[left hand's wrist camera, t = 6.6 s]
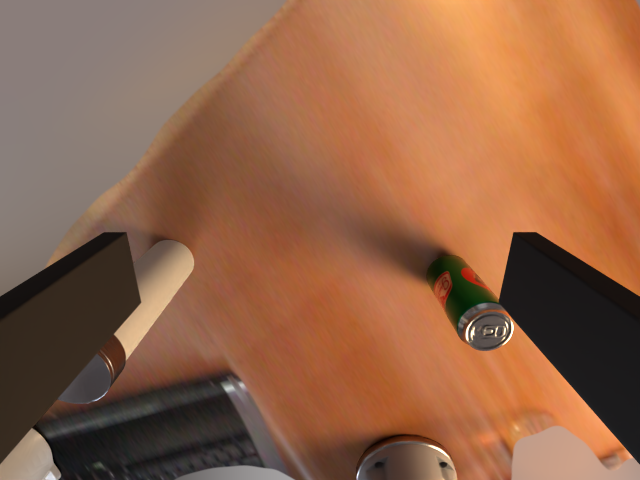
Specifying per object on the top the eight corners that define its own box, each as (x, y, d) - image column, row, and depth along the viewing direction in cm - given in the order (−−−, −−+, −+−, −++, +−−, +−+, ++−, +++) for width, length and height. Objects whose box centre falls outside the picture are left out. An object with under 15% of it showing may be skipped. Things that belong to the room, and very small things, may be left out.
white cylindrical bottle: (141, 263, 43) (23, 373, 26) (163, 230, 42) (52, 324, 24) (180, 287, 44) (91, 407, 27) (202, 256, 43) (123, 363, 26)
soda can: (426, 253, 43) (464, 309, 31) (468, 252, 42) (521, 306, 31) (423, 290, 44) (458, 355, 33) (464, 289, 44) (513, 353, 33)
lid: (36, 357, 28) (13, 378, 26) (67, 306, 26) (45, 324, 24) (106, 392, 29) (89, 415, 27) (139, 346, 27) (124, 367, 25)
